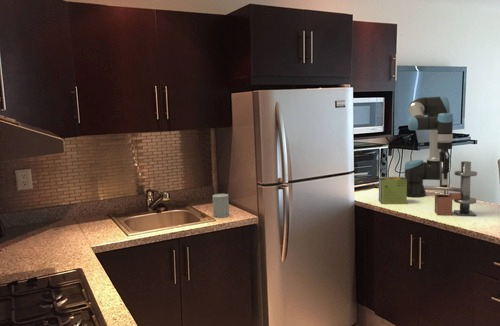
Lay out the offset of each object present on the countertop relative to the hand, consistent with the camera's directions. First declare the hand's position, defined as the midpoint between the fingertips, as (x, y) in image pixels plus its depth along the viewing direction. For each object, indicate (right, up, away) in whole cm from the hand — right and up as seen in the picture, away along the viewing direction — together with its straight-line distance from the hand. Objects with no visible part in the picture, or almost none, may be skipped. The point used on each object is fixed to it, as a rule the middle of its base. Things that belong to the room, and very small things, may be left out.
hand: (443, 183), depth 235 cm
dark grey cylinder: (0, -2, 0) cm, 2 cm away
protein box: (-17, -13, +34) cm, 40 cm away
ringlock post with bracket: (+7, -17, +1) cm, 18 cm away
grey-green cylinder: (-124, -20, +17) cm, 127 cm away
